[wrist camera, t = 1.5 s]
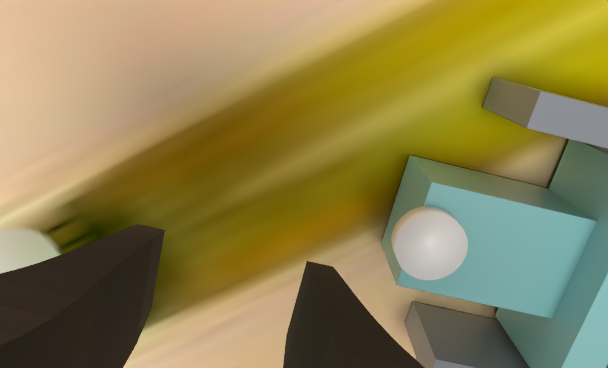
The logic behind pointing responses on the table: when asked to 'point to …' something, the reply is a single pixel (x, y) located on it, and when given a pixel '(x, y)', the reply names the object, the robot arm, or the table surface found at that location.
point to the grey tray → (481, 330)
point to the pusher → (513, 250)
